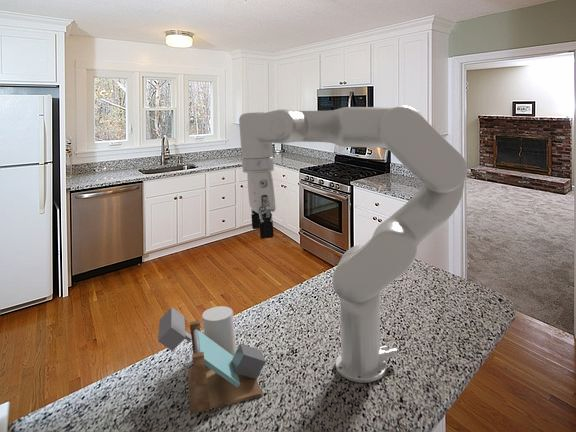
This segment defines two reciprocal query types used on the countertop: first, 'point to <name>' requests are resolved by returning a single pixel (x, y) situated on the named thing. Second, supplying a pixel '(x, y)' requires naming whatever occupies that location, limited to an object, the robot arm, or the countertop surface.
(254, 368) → the grey block
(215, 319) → the cup
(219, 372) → the trapdoor
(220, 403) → the frame
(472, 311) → the countertop surface
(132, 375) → the countertop surface
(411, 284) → the countertop surface
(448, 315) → the countertop surface
